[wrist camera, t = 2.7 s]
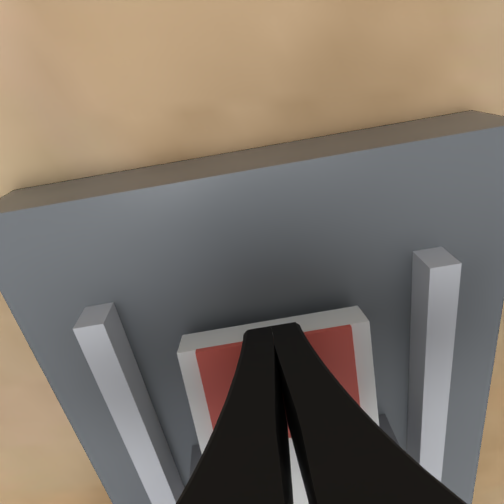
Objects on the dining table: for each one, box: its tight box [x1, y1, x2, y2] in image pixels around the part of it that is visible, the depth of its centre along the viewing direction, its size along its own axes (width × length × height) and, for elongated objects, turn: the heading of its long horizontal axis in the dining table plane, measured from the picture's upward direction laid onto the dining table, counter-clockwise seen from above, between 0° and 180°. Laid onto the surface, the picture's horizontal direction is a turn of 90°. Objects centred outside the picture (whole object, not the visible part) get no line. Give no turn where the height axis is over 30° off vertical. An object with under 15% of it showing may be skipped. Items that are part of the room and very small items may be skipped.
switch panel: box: [0, 110, 504, 504], centre depth 14 cm, size 20×14×5 cm
